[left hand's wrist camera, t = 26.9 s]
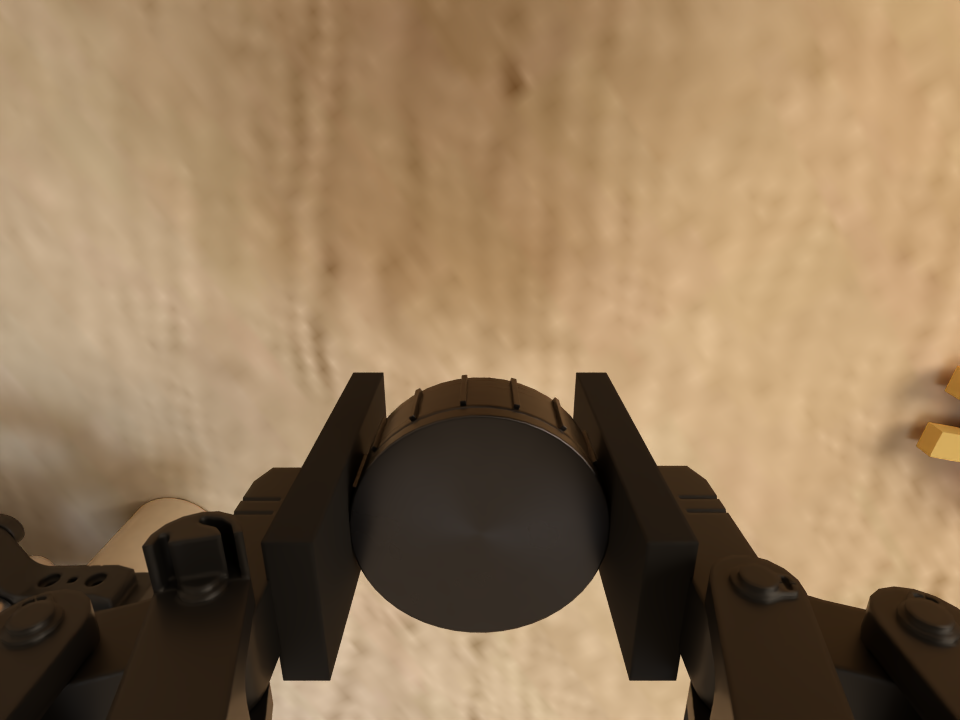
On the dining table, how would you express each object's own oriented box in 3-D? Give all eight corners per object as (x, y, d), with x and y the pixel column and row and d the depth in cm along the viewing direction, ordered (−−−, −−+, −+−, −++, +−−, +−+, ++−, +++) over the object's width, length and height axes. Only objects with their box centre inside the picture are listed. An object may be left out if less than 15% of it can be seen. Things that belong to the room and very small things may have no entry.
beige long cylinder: (217, 499, 26) (-154, 1007, 11) (227, 572, 28) (-85, 1106, 13) (124, 494, 26) (-378, 998, 11) (140, 568, 28) (-281, 1098, 12)
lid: (560, 343, 11) (575, 378, 10) (618, 540, 13) (639, 599, 11) (327, 414, 12) (302, 458, 10) (412, 595, 13) (403, 659, 12)
